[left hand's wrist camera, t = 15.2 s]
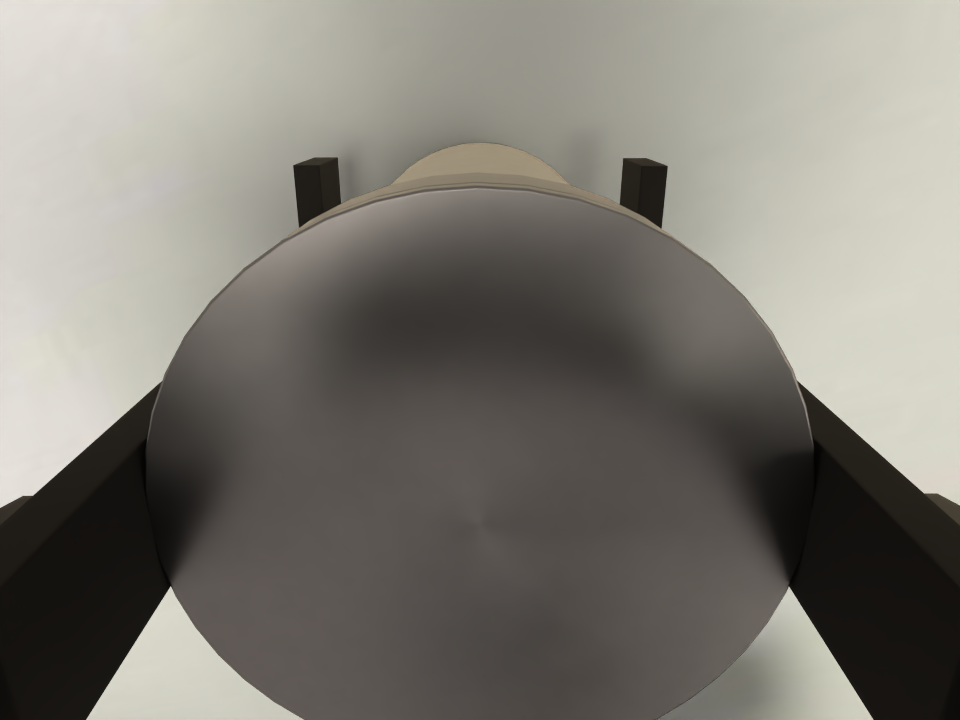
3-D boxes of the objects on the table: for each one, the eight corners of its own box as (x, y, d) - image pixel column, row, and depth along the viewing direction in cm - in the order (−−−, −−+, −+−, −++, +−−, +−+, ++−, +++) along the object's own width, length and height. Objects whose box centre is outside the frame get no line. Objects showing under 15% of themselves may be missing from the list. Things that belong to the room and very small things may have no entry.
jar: (324, 282, 28) (92, 555, 11) (456, 90, 26) (408, 76, 9) (500, 404, 30) (525, 790, 13) (639, 238, 28) (892, 460, 11)
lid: (88, 517, 13) (30, 578, 11) (407, 19, 10) (392, 3, 8) (526, 759, 15) (532, 840, 13) (895, 417, 12) (961, 469, 10)
